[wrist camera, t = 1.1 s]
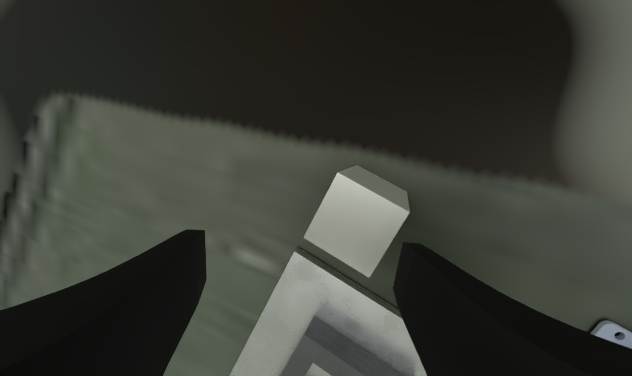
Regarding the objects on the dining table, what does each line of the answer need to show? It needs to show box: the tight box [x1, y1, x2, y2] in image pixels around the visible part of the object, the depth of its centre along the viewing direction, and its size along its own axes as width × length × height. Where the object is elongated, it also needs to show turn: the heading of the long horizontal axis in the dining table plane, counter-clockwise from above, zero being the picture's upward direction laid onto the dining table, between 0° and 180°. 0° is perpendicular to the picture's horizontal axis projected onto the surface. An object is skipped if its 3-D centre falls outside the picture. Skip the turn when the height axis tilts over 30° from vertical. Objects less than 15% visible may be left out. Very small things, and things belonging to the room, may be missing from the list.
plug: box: [303, 165, 410, 278], centre depth 18 cm, size 4×4×7 cm
